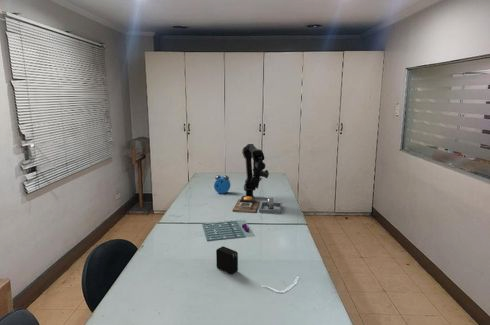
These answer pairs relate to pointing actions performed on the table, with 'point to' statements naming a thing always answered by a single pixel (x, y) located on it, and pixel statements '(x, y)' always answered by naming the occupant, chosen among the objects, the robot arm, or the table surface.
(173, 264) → the table surface
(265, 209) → the gray square frame
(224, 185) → the alarm clock
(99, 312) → the table surface
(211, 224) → the calendar
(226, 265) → the electronic device
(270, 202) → the cylinder
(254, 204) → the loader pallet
